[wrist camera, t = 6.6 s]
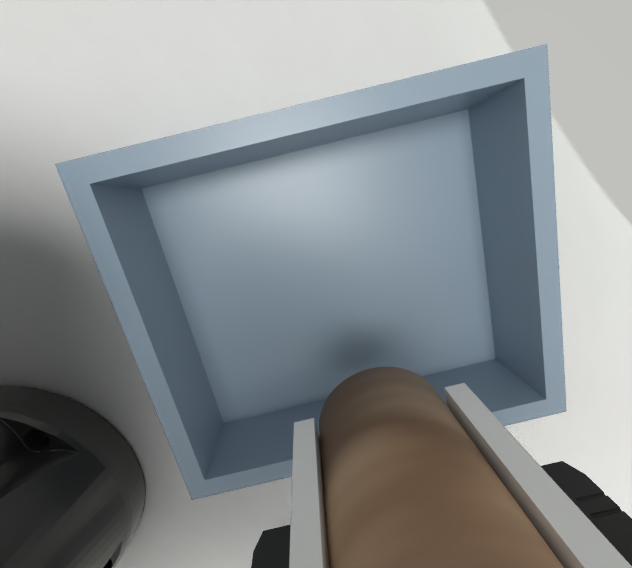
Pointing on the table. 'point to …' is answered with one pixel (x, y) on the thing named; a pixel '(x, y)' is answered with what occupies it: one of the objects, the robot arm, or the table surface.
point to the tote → (334, 258)
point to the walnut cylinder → (414, 483)
